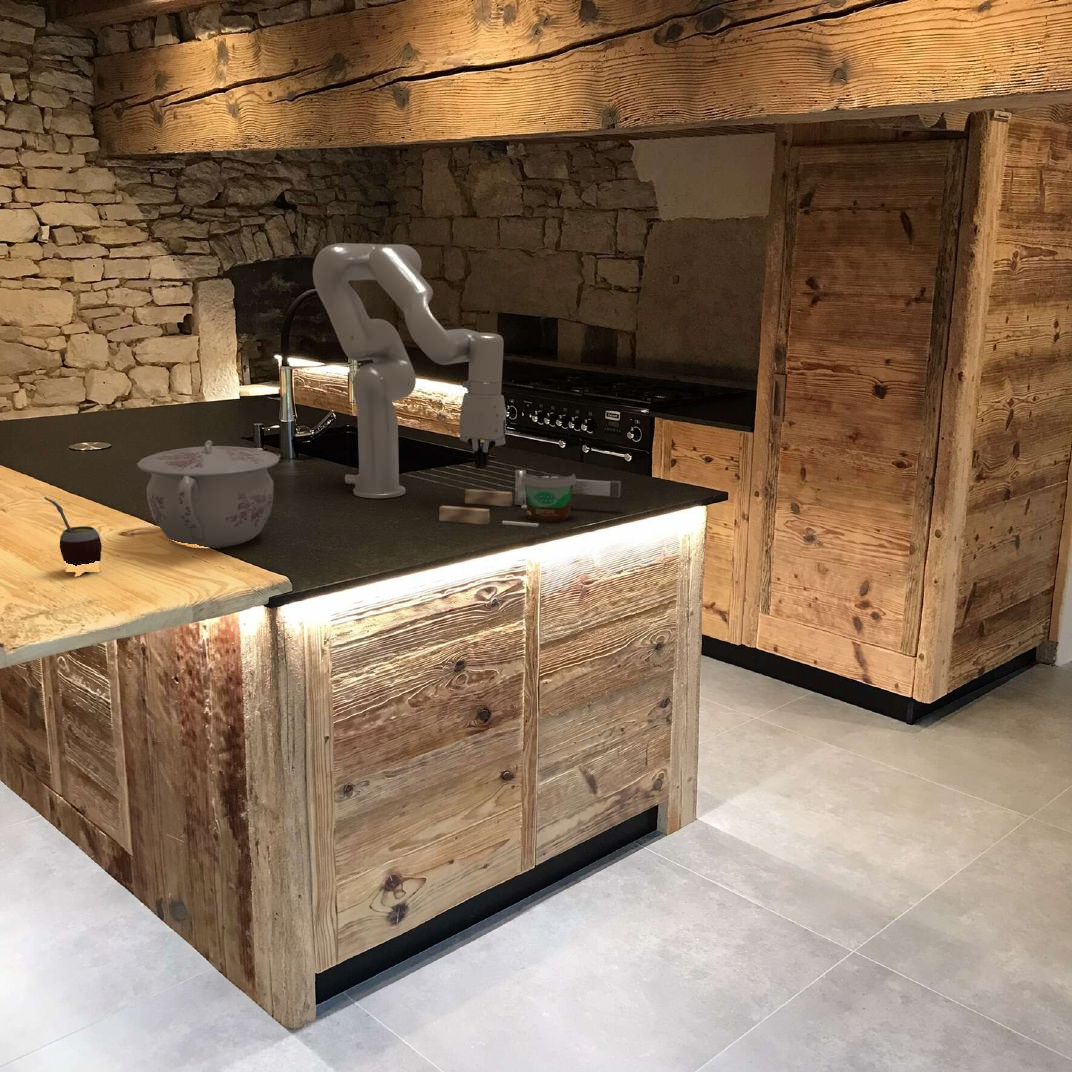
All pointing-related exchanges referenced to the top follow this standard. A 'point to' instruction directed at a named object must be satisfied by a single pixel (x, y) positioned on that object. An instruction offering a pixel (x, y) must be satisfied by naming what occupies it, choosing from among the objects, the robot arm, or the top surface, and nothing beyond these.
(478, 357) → the robot arm
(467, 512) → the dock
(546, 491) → the food container
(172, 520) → the chamber pot
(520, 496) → the retention gate
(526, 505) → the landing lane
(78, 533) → the mate gourd
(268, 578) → the top surface
